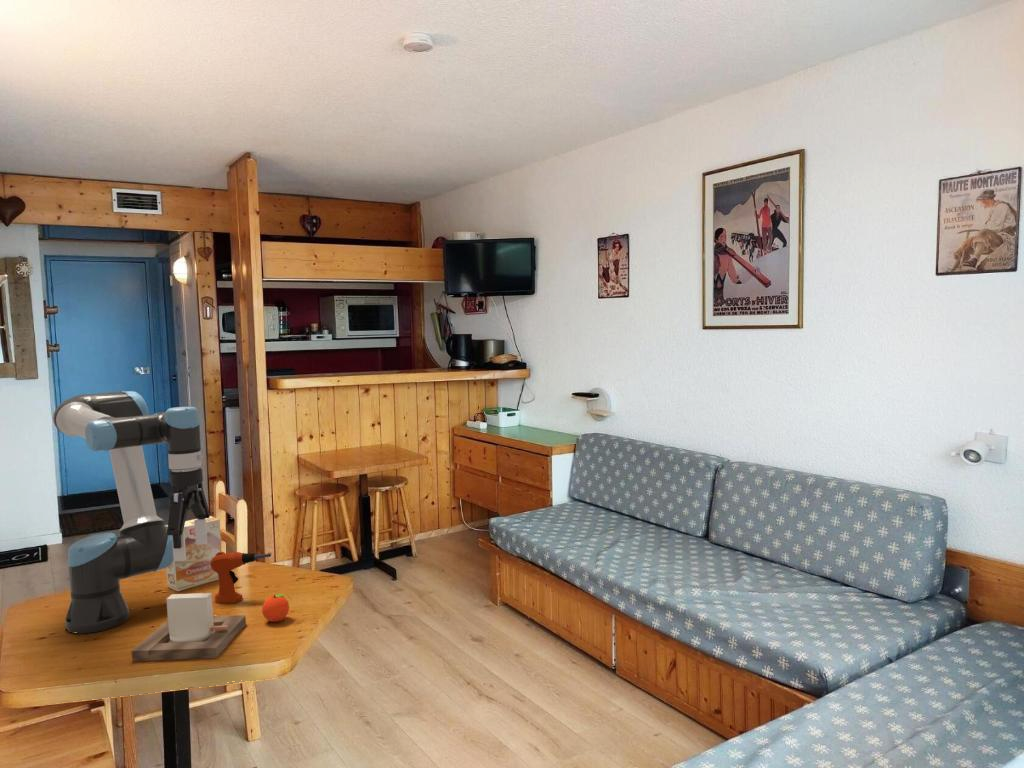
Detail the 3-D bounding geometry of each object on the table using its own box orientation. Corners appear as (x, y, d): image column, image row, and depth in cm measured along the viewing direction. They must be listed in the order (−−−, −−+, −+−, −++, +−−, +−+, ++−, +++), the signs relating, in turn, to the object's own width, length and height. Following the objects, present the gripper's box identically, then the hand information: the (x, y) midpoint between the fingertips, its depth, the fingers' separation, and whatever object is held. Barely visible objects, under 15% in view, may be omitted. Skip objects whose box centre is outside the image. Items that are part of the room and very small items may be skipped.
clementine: (286, 612, 200) (284, 587, 200) (298, 619, 195) (296, 593, 195) (258, 621, 195) (256, 595, 194) (269, 628, 190) (268, 601, 189)
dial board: (132, 661, 173) (131, 650, 172) (170, 627, 193) (169, 617, 192) (216, 658, 173) (215, 647, 173) (245, 624, 193) (245, 614, 193)
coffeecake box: (177, 592, 219) (172, 529, 218) (166, 587, 224) (162, 525, 223) (224, 578, 231) (220, 518, 229) (213, 574, 235) (209, 515, 234)
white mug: (162, 647, 178) (159, 604, 177) (180, 630, 188) (178, 589, 187) (220, 645, 178) (217, 601, 177) (235, 628, 188) (232, 587, 187)
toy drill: (275, 598, 207) (265, 547, 206) (212, 606, 209) (203, 556, 208) (281, 592, 212) (272, 542, 211) (220, 600, 214) (211, 551, 213)
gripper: (180, 478, 168) (186, 567, 170) (219, 459, 193) (223, 537, 195) (147, 479, 168) (153, 568, 170) (190, 460, 193) (195, 538, 195)
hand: (191, 552), depth 182 cm, fingers open, 13 cm apart
